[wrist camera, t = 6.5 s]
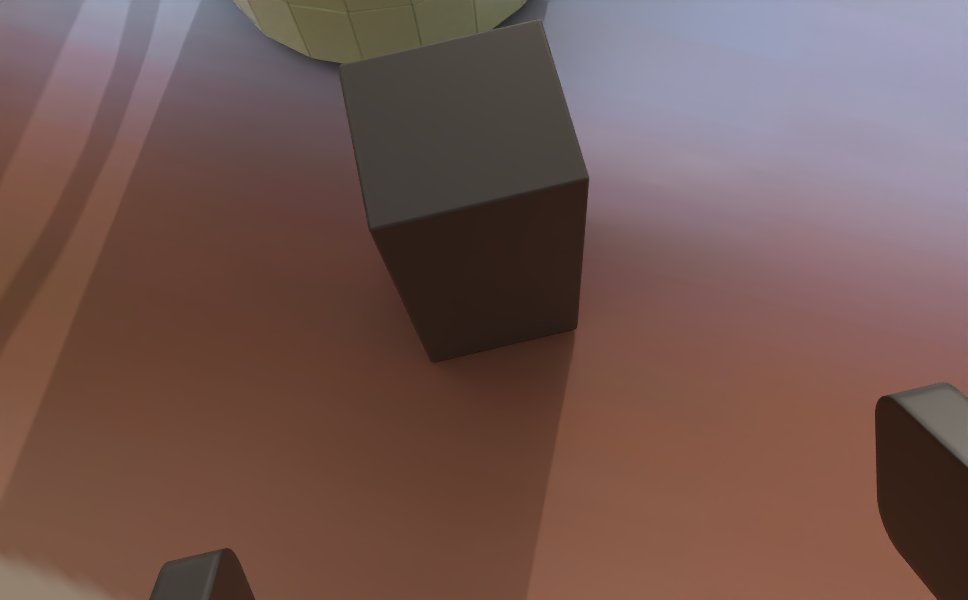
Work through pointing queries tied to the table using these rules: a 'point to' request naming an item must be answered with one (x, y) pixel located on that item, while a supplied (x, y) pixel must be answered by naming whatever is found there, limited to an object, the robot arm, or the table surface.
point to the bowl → (371, 24)
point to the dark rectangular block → (472, 186)
